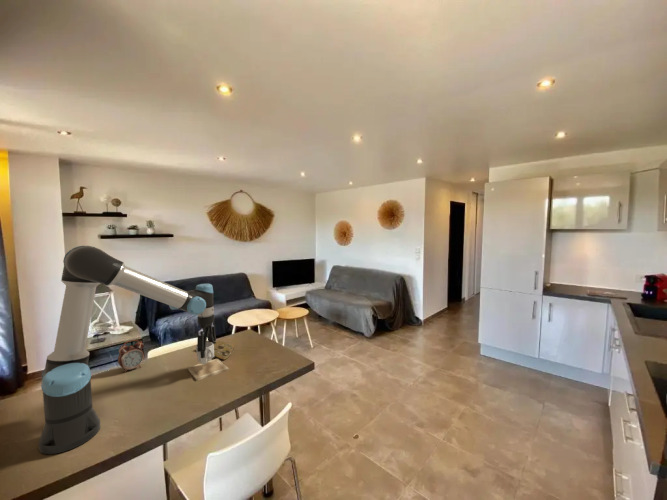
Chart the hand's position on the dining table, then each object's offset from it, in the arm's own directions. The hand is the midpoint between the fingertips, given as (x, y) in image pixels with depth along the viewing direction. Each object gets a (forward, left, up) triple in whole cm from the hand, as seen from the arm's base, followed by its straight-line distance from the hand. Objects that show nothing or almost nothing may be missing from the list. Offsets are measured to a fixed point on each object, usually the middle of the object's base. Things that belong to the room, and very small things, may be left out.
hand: (207, 359), depth 141 cm
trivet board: (0, 0, -5) cm, 5 cm away
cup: (-1, 0, 0) cm, 1 cm away
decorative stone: (+13, +17, -7) cm, 22 cm away
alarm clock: (-28, +27, -5) cm, 39 cm away
